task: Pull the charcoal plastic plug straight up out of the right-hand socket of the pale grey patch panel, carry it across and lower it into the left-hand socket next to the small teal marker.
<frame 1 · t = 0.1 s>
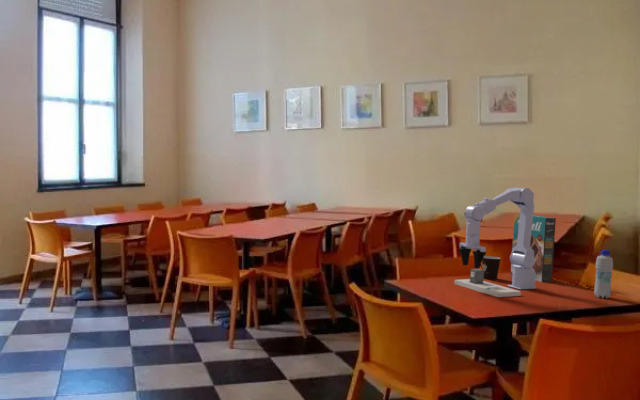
hand: (471, 266, 259), 10 cm above the table, fingers open, 7 cm apart
cake mix box: (530, 277, 299), on the table
plug: (476, 286, 268), resting in panel
coffee mug: (489, 278, 292), on the table
bottle: (602, 297, 257), on the table
panel: (486, 289, 262), on the table
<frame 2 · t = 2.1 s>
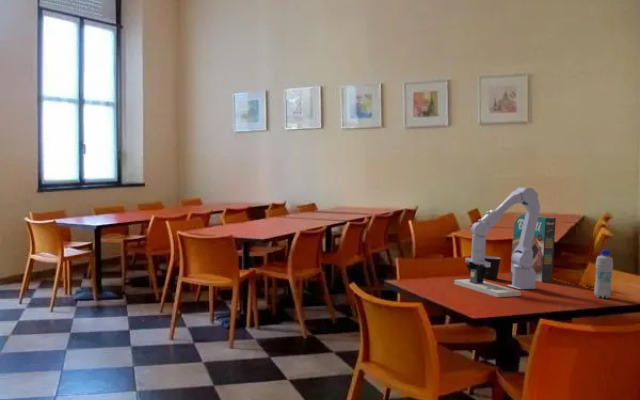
hand: (476, 281, 268), 2 cm above the table, fingers closed on plug, 4 cm apart
plug: (476, 286, 268), resting in panel, touching gripper
everything else where it was.
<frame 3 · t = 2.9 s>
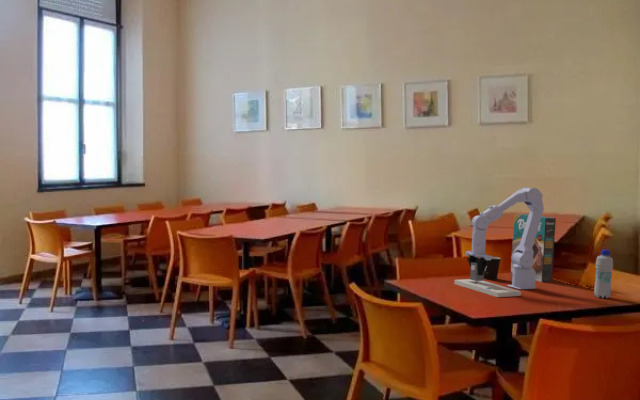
hand: (477, 274, 268), 5 cm above the table, fingers closed on plug, 4 cm apart
plug: (476, 280, 268), point 3 cm above the table, touching gripper
everything else where it was.
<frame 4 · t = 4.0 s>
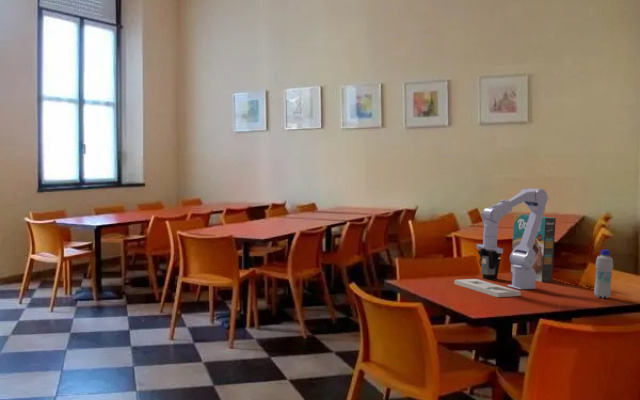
hand: (488, 268, 261), 9 cm above the table, fingers closed on plug, 4 cm apart
plug: (487, 273, 261), point 7 cm above the table, touching gripper
everything else where it was.
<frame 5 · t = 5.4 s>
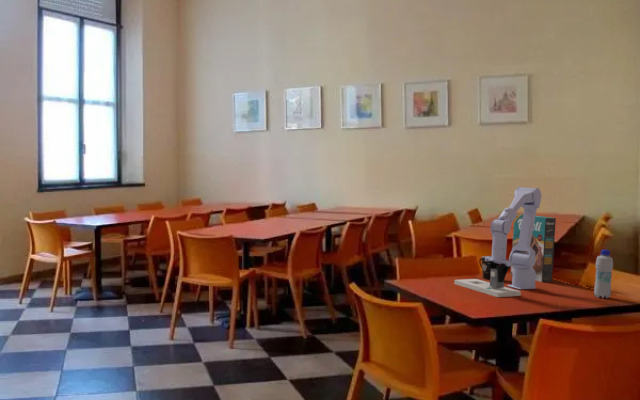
hand: (497, 280, 256), 5 cm above the table, fingers closed on plug, 4 cm apart
plug: (496, 286, 256), point 2 cm above the table, touching gripper
everything else where it was.
when the fingers open (3 cm above the table, at t = 6.2 s): plug stays where it is, resting in panel.
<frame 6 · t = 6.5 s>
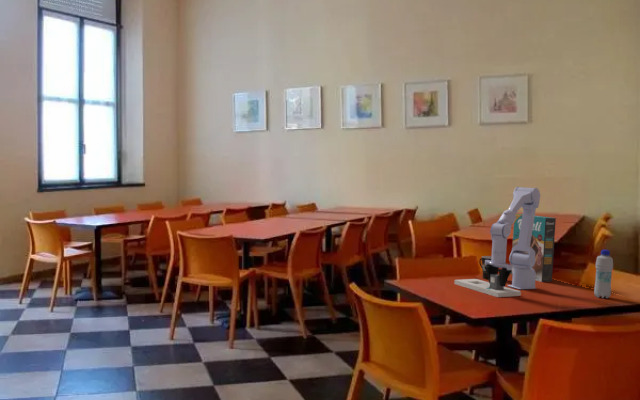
hand: (497, 284, 256), 3 cm above the table, fingers open, 6 cm apart
plug: (496, 292, 256), resting in panel
everything else where it was.
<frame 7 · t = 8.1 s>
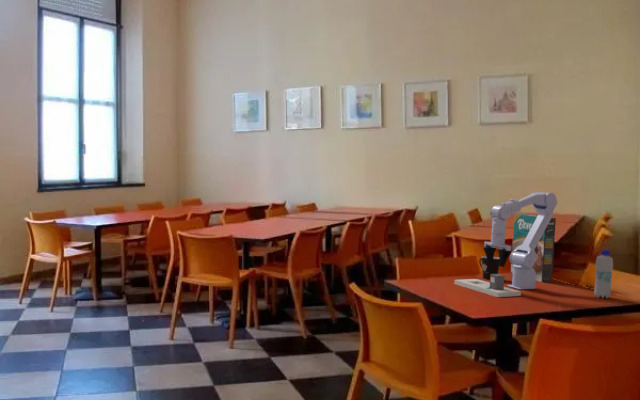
hand: (495, 265, 264), 10 cm above the table, fingers open, 7 cm apart
nothing on the table moved.
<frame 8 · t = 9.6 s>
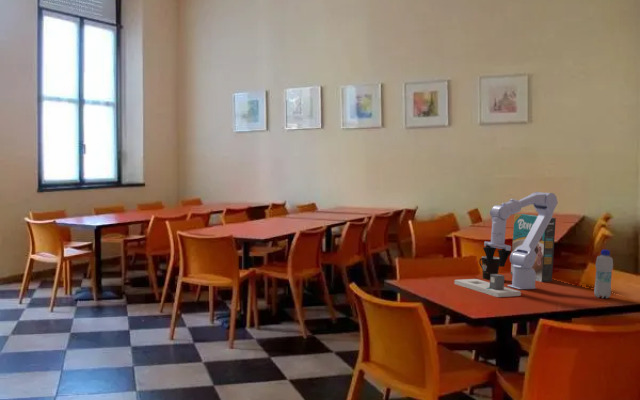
hand: (495, 265, 264), 10 cm above the table, fingers open, 7 cm apart
nothing on the table moved.
at the end: plug 0.1 cm from the target spot on the panel, point 0.0 cm above the panel's base; plug tilted 0°; the gripper is holding nothing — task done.
